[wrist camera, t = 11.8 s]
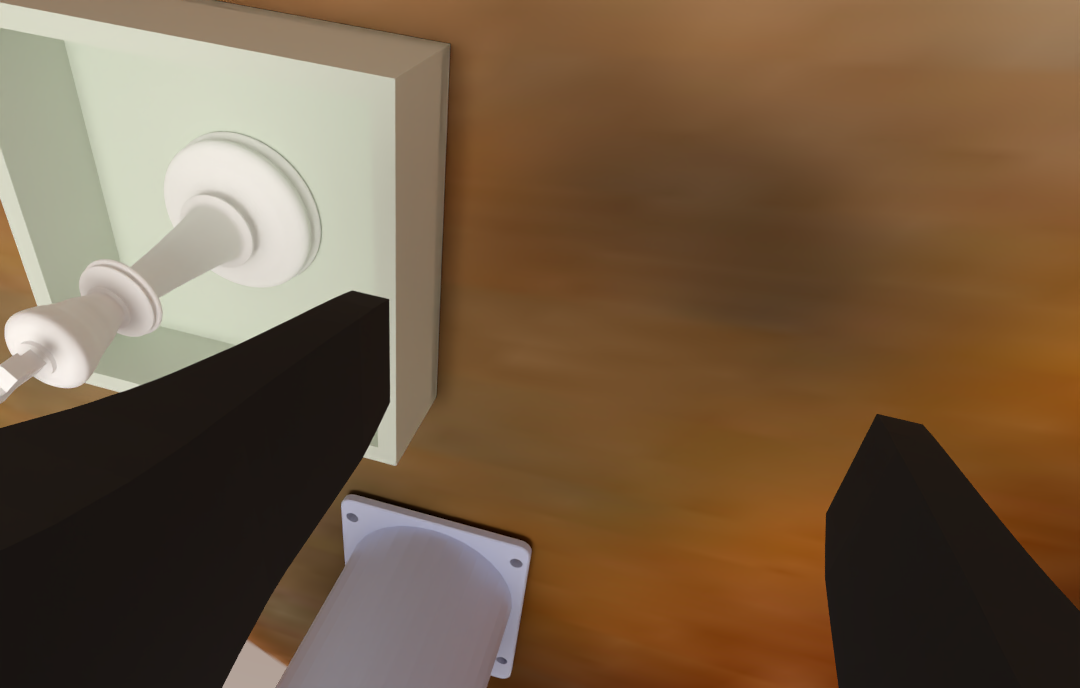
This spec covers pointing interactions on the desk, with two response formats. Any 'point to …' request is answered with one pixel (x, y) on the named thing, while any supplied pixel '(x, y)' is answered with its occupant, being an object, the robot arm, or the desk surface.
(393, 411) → the box
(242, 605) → the robot arm
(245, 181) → the chess piece
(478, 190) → the desk surface
